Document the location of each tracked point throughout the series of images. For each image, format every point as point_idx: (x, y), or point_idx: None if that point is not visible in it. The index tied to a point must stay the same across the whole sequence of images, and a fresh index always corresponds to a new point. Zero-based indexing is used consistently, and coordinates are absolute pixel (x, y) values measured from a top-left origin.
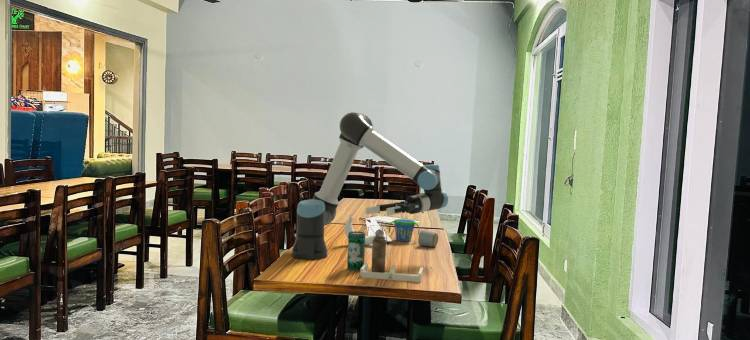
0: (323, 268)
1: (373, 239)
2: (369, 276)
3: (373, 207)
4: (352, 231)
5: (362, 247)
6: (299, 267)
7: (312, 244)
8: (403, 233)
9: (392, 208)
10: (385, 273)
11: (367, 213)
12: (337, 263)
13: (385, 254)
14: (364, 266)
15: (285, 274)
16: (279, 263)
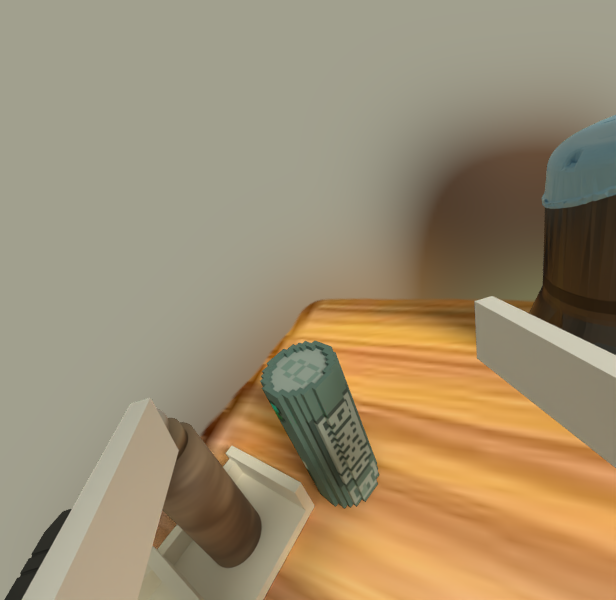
0: (399, 384)
1: (191, 428)
2: None
3: (547, 350)
4: (333, 352)
5: (286, 429)
6: (413, 336)
7: (542, 312)
8: None
9: (104, 464)
10: (170, 536)
11: (478, 351)
12: (482, 429)
13: (171, 518)
14: (252, 465)
15: (349, 321)
16: (457, 301)
